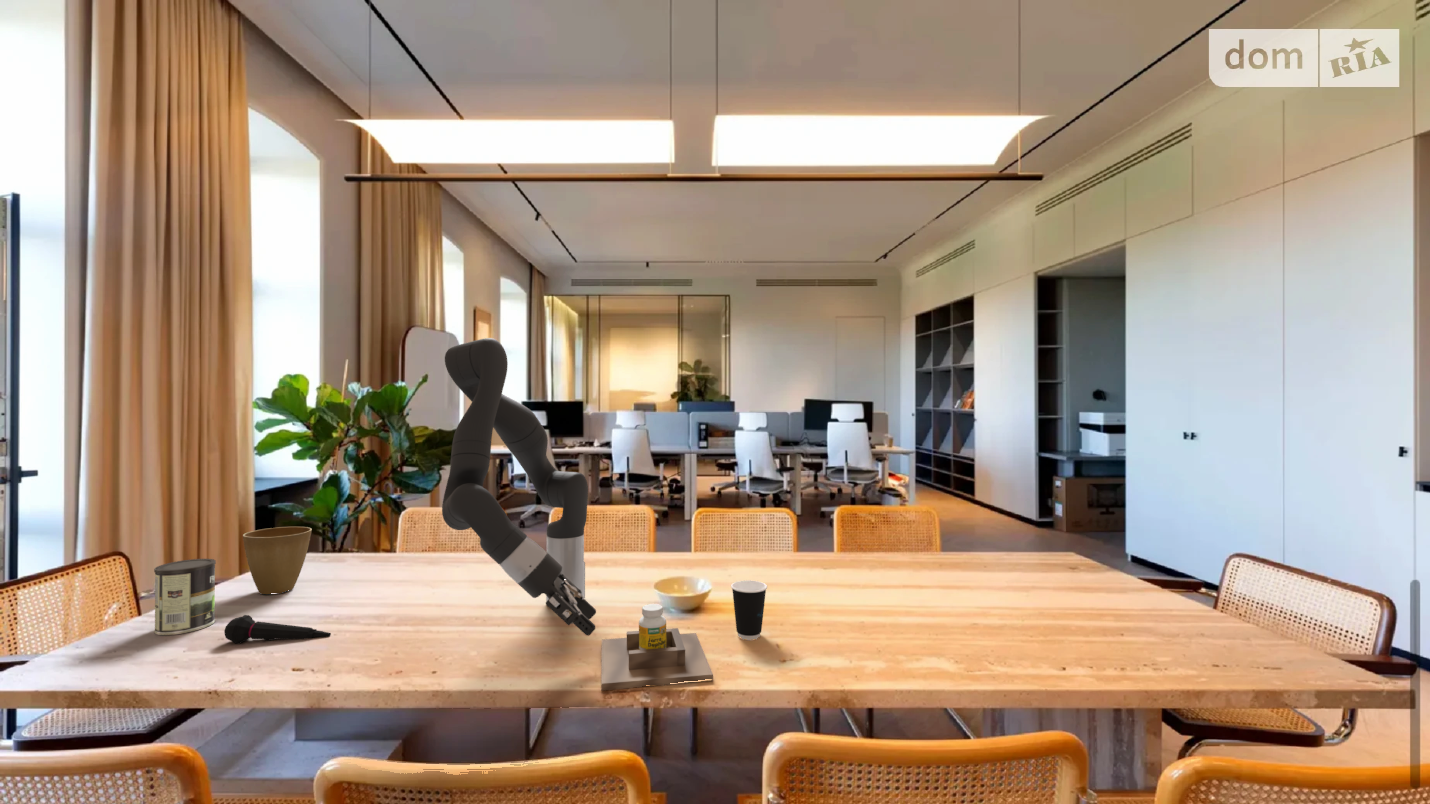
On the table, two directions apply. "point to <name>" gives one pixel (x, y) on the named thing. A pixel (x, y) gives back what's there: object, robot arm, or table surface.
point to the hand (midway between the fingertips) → (592, 623)
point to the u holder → (652, 661)
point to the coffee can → (184, 596)
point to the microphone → (266, 630)
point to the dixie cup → (749, 607)
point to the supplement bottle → (652, 628)
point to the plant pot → (276, 557)
